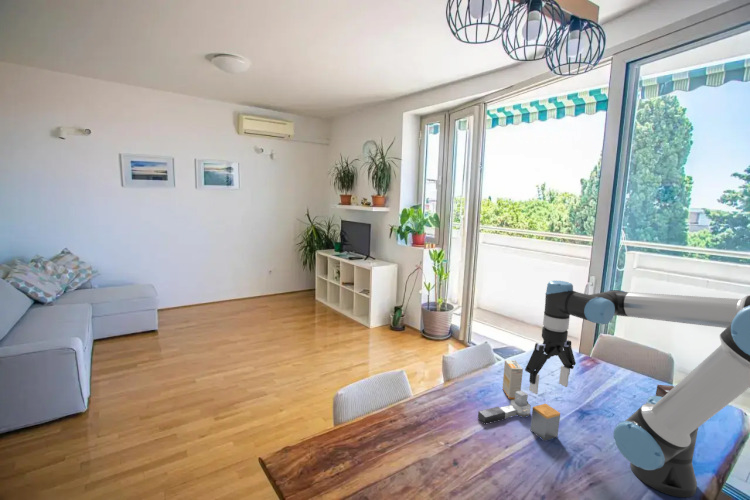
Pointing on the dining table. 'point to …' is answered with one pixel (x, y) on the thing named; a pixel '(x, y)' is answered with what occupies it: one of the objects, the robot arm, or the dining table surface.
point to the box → (663, 390)
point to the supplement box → (512, 378)
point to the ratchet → (507, 409)
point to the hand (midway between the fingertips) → (548, 388)
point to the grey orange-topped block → (545, 421)
